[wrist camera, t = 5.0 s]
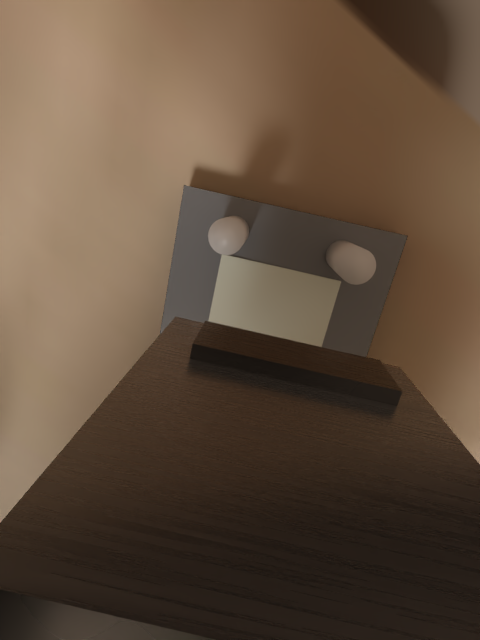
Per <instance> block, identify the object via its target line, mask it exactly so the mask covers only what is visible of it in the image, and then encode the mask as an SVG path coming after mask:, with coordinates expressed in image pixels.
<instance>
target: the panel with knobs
mask: <svg viewBox="0 0 480 640" xmlns="http://www.w3.org/2000/svg"><path fill="white" fill-rule="evenodd" d="M406 239H407V236H406V235H402V234H397V233H393V232H388V231H384V230H380V229H375V228H371V227H366V226H362V225H358V224H353V223H349V222H344V221H340V220H335V219H331V218H327V217H322V216H318V215H313V214H309V213H305V212H300V211H296V210H291V209H287V208H283V207H278V206H274V205H269V204H265V203H261V202H256V201H252V200H247V199H243V198H239V197H234V196H230V195H225V194H221V193H217V192H212V191H208V190H203V189H199V188H195V187H190V186H186V185H184V189H183V195H182V201H181V207H180V214H179V220H178V226H177V232H176V238H175V244H174V251H173V257H172V263H171V269H170V275H169V281H168V287H167V294H166V300H165V306H164V312H163V318H162V324H161V331H160V334H161V333H162V332H163V330H164V329H165V328H166V327H167V326H168V325H169V323H170V322H171V321H172V320H173V319H174V318H175V316H176V317H180V318H185V319H189V320H193V321H198V322H202V323H204V322H205V321H209V322H214V323H218V324H222V325H227V326H231V327H236V328H240V329H244V330H249V331H253V332H258V333H262V334H266V335H271V336H275V337H280V338H284V339H288V340H293V341H297V342H301V343H306V344H310V345H315V346H319V347H323V348H328V349H332V350H337V351H341V352H345V353H350V354H354V355H359V356H363V357H366V356H367V353H368V350H369V347H370V345H371V342H372V339H373V336H374V333H375V330H376V327H377V324H378V321H379V318H380V315H381V312H382V310H383V307H384V304H385V301H386V298H387V295H388V292H389V289H390V286H391V283H392V280H393V277H394V274H395V272H396V269H397V266H398V263H399V260H400V257H401V254H402V251H403V248H404V245H405V242H406Z"/></svg>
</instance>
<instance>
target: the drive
mask: <svg viewBox="0 0 480 640" xmlns="http://www.w3.org/2000/svg"><path fill="white" fill-rule="evenodd" d="M0 640H480V464H479V463H478V462H477V461H476V460H475V458H474V457H473V456H472V455H471V454H470V452H469V451H468V450H467V449H466V447H465V446H464V445H463V444H462V443H461V441H460V440H459V439H458V438H457V437H456V435H455V434H454V433H453V432H452V430H451V429H450V428H449V427H448V426H447V424H446V423H445V422H444V421H443V420H442V418H441V417H440V416H439V415H438V413H437V412H436V411H435V410H434V409H433V407H432V406H431V405H430V404H429V402H428V401H427V400H426V399H425V398H424V396H423V395H422V394H421V393H420V392H419V390H418V389H417V388H416V387H415V385H414V384H413V383H412V382H411V381H410V379H409V378H408V377H407V376H406V375H405V373H404V372H403V371H402V370H401V368H400V367H396V366H391V365H387V364H382V363H381V361H380V360H376V359H372V358H367V357H363V356H359V355H354V354H350V353H345V352H341V351H337V350H332V349H328V348H323V347H319V346H315V345H310V344H306V343H301V342H297V341H293V340H288V339H284V338H280V337H275V336H271V335H266V334H262V333H258V332H253V331H249V330H244V329H240V328H236V327H231V326H227V325H222V324H218V323H214V322H209V321H205V322H204V323H202V322H198V321H193V320H189V319H185V318H180V317H176V316H175V318H174V319H173V320H172V321H171V322H170V323H169V325H168V326H167V327H166V328H165V329H164V330H163V332H162V333H161V334H160V335H159V336H158V338H157V339H156V340H155V341H154V342H153V343H152V345H151V346H150V347H149V348H148V349H147V351H146V352H145V353H144V354H143V355H142V356H141V358H140V359H139V360H138V361H137V362H136V364H135V365H134V366H133V367H132V368H131V369H130V371H129V372H128V373H127V374H126V375H125V376H124V378H123V379H122V380H121V381H120V382H119V384H118V385H117V386H116V387H115V388H114V389H113V391H112V392H111V393H110V394H109V395H108V397H107V398H106V399H105V400H104V401H103V402H102V404H101V405H100V406H99V407H98V408H97V410H96V411H95V412H94V413H93V414H92V415H91V417H90V418H89V419H88V420H87V421H86V422H85V424H84V425H83V426H82V427H81V428H80V430H79V431H78V432H77V433H76V434H75V435H74V437H73V438H72V439H71V440H70V441H69V443H68V444H67V445H66V446H65V447H64V448H63V450H62V451H61V452H60V453H59V454H58V456H57V457H56V458H55V459H54V460H53V461H52V463H51V464H50V465H49V466H48V467H47V469H46V470H45V471H44V472H43V473H42V474H41V476H40V477H39V478H38V479H37V480H36V481H35V483H34V484H33V485H32V486H31V487H30V489H29V490H28V491H27V492H26V493H25V494H24V496H23V497H22V498H21V499H20V500H19V502H18V503H17V504H16V505H15V506H14V507H13V509H12V510H11V511H10V512H9V513H8V515H7V516H6V517H5V518H4V519H3V520H2V522H1V523H0Z"/></svg>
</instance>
